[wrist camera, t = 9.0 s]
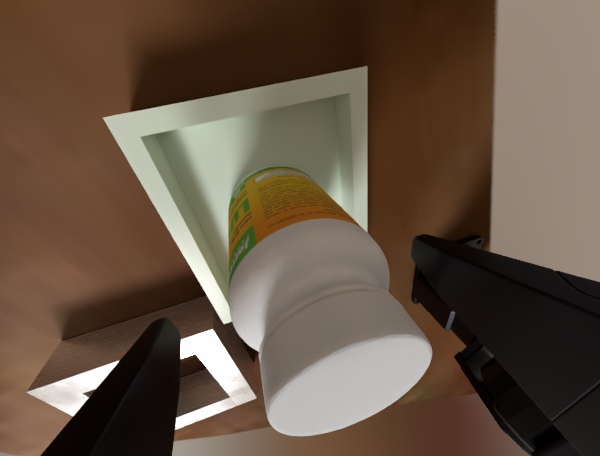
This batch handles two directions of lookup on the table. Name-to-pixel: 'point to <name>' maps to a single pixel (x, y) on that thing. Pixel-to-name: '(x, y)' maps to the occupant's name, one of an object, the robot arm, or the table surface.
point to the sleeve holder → (194, 340)
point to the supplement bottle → (316, 306)
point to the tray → (245, 157)
